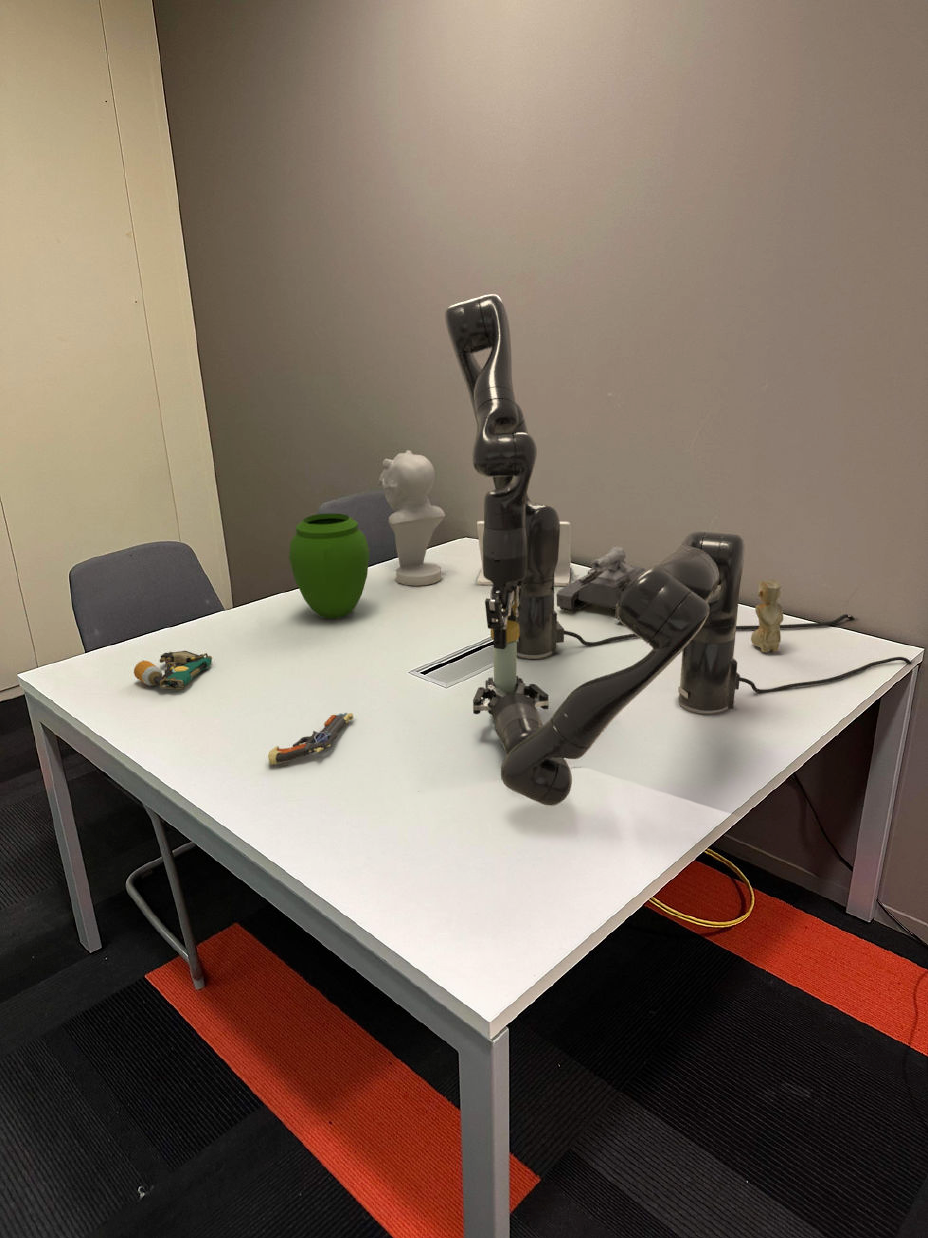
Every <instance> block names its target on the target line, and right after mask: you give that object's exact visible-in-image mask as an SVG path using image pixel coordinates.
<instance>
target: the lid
mask: <svg viewBox="0 0 928 1238" xmlns="http://www.w3.org/2000/svg"><path fill="white" fill-rule="evenodd" d="M496 622H498V620H496ZM506 629H507V642H512V641H515V640H517V639H518V638H519V624H518V623H517V622H515V621H510V620H507V628H506ZM490 638H491V639H492V640H493V629H490Z"/></svg>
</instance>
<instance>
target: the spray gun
mask: <svg viewBox="0 0 928 1238" xmlns="http://www.w3.org/2000/svg"><path fill="white" fill-rule="evenodd" d="M212 660H213V657H212V656H211V655H208V653H207V652H205V653H201V654H197V653H194V652H192V651H191V652H190V651H188V650H180V651H169V652H164V653H162V654H161V655H160V658H159V660H158V662H159V663H161V664H163V663H165V664H166V668H165V670H163V672H164V674H163V673H162V669H160V668H159V666H157V665H156V664H154V663H152V662H151V661H149V660H141V661H139V662H138V663H136V665H135V666H134V668H133V675H134V677H135V678H136V679H137V680H139V681H140V682H142V683H143V684H145V685H147V686H155V685H157V686H158V687H160V688H161V689H171V690H172V689H173V690H182V689H184V687H185V686H186V685H188V684H189V683H190V682H191V681H192V679H193V678H195V677H196V676H197V675H198V674H200V673H201V672H202V671H203V670H206V669H208V668H209V667H210V666H211V665H212V662H213V661H212ZM178 663H179V664H181V665H179V666H176V665H177V664H178Z"/></svg>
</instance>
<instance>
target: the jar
mask: <svg viewBox="0 0 928 1238" xmlns="http://www.w3.org/2000/svg"><path fill="white" fill-rule="evenodd" d="M517 661H518V657H517V640H515V641H512V642H507V646H506V648H505V649H497V648H494V647H493V681H494V684H495V687H496V688H499V689H500V690H501V691H502V692H503V693H513V692H516V690H517V676H518V672H517V670H518V668H517V664H518V663H517Z"/></svg>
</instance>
